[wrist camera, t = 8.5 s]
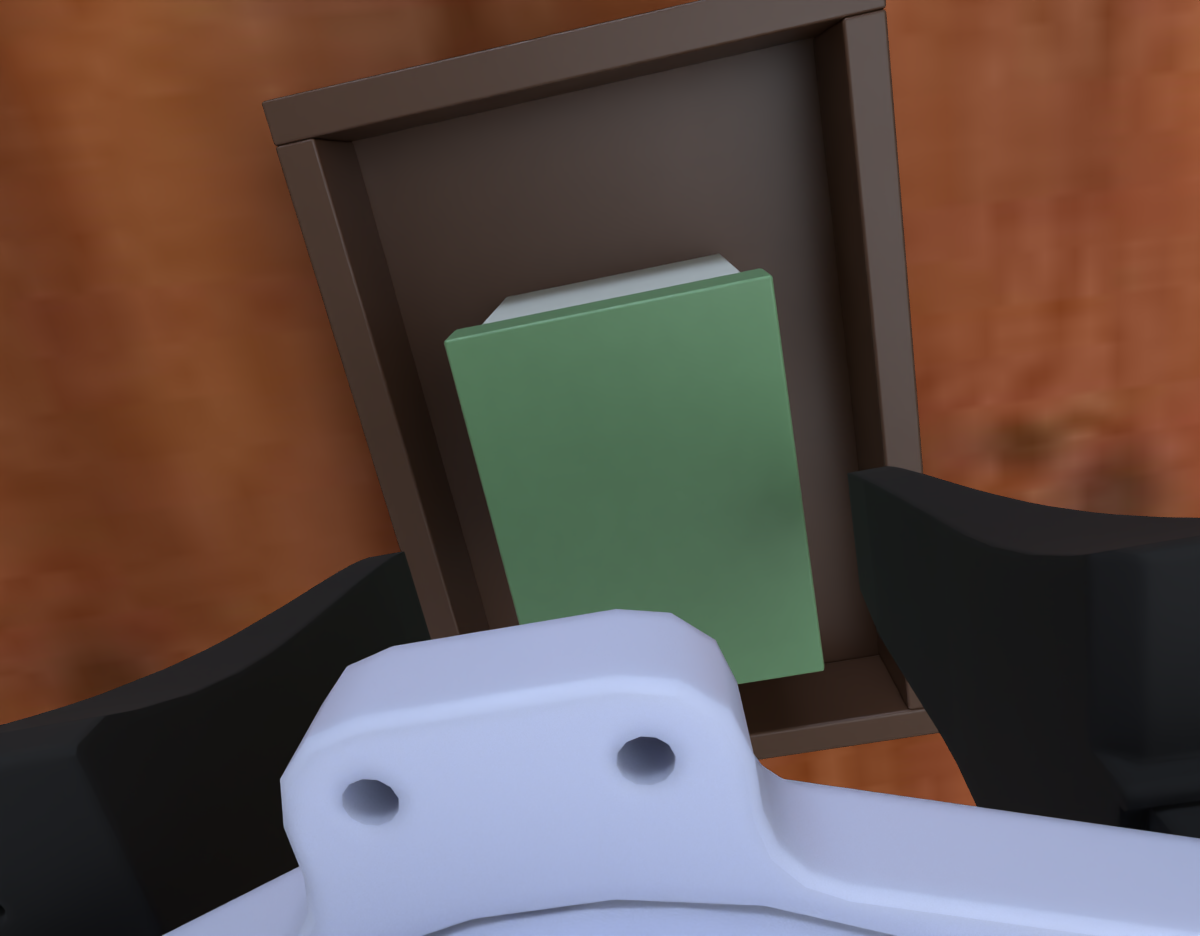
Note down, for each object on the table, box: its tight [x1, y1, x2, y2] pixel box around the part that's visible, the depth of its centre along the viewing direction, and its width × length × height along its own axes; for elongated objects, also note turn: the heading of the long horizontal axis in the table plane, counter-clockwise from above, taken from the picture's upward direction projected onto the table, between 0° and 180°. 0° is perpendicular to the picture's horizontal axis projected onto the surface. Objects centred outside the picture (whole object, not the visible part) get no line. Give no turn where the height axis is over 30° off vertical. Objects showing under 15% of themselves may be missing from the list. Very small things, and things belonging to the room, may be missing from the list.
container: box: [444, 254, 824, 684], centre depth 17 cm, size 7×5×6 cm
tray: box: [262, 0, 939, 760], centre depth 19 cm, size 17×12×3 cm
